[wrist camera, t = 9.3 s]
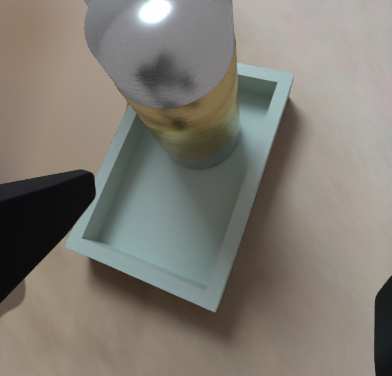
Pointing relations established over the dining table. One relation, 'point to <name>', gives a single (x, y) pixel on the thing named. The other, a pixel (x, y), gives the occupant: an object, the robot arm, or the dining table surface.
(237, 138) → the tin can
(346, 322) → the dining table surface
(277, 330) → the dining table surface
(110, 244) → the pale green tray
